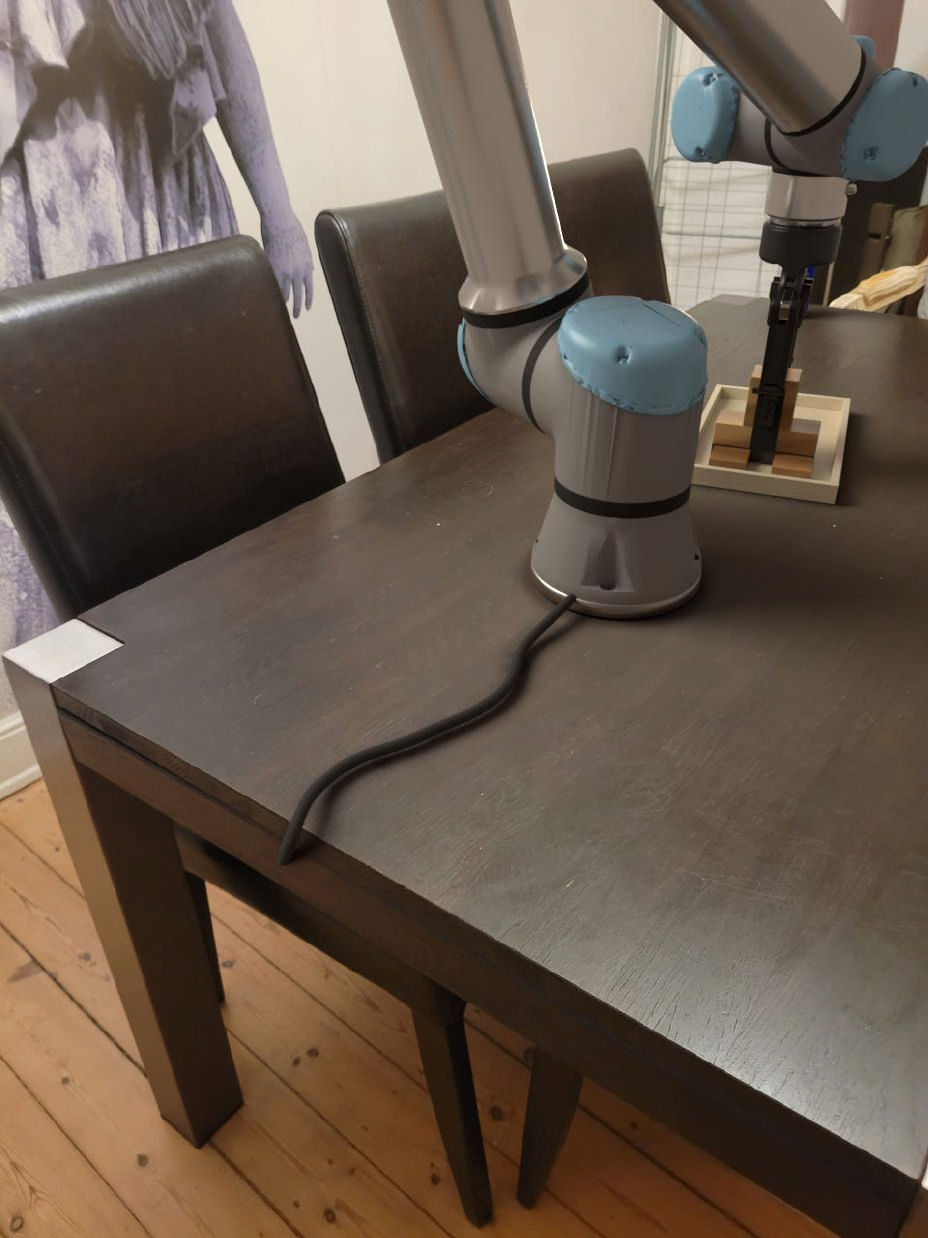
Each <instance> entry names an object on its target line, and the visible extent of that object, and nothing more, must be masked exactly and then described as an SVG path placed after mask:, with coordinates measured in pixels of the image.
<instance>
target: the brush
mask: <svg viewBox="0 0 928 1238" xmlns="http://www.w3.org/2000/svg"><path fill="white" fill-rule="evenodd" d="M762 367H763V364H755V365H754V368H753V370H752V373H751V376H750V380H749V384H748V388H749V391H748V397H747V403H746V409H745V412H741V411H732V410H724V409H721V411H720V413H719V415H718V418H717V420H716V422H715V427H714V434H713V441H712V448H711V453H712V451H713V448H714V446H715V445H716V446H724V447H732V448H740V449H748V450H749V445H750V439H751V433H752V427H753V421H754V415H755V410H756V404H757V398H758V394H753V393H752V388H753V387H757V388H758V385H759V384H760V379H761V373H762ZM794 368H795V367H791V368H788V372H787V378H786V383H785V389H786V390H785V397H784V403H783V408H782V414H781V419H780V425H779V430H778V435H777V441H776V446H775V451H774V453H770V452H762V451H754V450H751V453H750V459H749V461H754V462H761V463H769V464H773V461H774V458H775V454H776V453H780V454H788V455H796V456H804V457H811V458H814V456H815V451H816V447H817V442H818V437H819V432H820V426H821V421H817V420H809V419H800V418H793V417H794V412H795V407H796V402H797V397H798V393H799V391H800V385H801V380H802V375H803V372H804V371H803V370H804V369H802V368H797V369H794ZM813 461H814V459H813ZM812 466H813V464H812Z"/></svg>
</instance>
